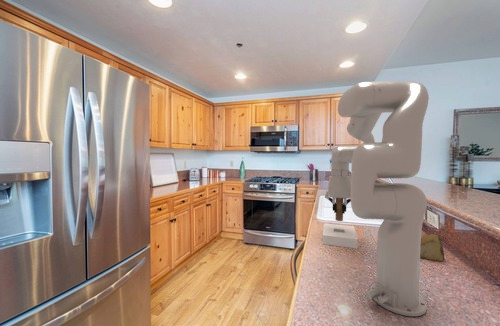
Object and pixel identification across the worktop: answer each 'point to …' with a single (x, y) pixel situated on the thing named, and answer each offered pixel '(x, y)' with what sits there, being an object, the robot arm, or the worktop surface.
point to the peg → (339, 209)
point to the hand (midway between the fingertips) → (339, 212)
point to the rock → (431, 247)
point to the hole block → (340, 235)
